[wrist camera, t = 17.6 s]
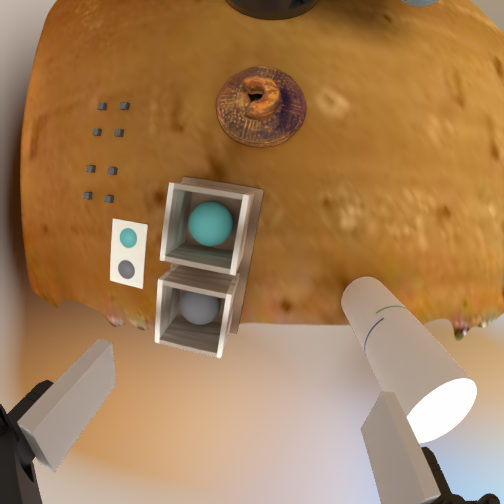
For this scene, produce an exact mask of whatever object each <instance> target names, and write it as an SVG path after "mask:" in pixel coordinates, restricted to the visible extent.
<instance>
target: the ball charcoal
mask: <svg viewBox="0 0 504 504" xmlns="http://www.w3.org/2000/svg"><path fill="white" fill-rule="evenodd" d="M180 310H181V313H182V315H183V316H184V317H185V319H187V320H188V321H189V322H191V323H193V324H197V325H204V324H207V323H210V322H211V321H213V320H214V319H215V318H216V317H217V315H218V313H219V311H220V299H219V297H214V296H210V295H205V294H200V293H196V292H191V291H187V290H185V291H184V292H183V294H182V296H181V298H180Z"/></svg>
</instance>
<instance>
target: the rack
mask: <svg viewBox="0 0 504 504" xmlns="http://www.w3.org/2000/svg"><path fill="white" fill-rule="evenodd" d="M263 192H264V190H263V189H258V188H252V187H246V186H241V185H235V184H229V183H223V182H216V181H210V180H203V179H197V178H190V177H182V181H181V183H169V187H168V194H167V201H166V208H165V216H164V224H163V233H162V242H161V252H160V260H161V261H166V262H171V267H170V269H169V270H168V271H167V272H166V273H165V274H163V275H162V276H161V277H160V278H159V279H158V288H157V304H156V325H155V342H156V343H160V344H164V345H167V346H171V347H176V348H179V349H183V350H187V351H191V352H195V353H200V354H204V355H208V356H213V357H218V358H221V357H222V354H223V351H224V347H225V344H226V341H227V337H228V334H229V332H230V333H235V334H237V332H238V327H239V322H240V316H241V311H242V305H243V300H244V295H245V289H246V284H247V278H248V273H249V268H250V262H251V257H252V251H253V246H254V241H255V235H256V230H257V224H258V219H259V213H260V208H261V203H262V197H263ZM210 201H212V202H218V203H220V204H222V205H224V206H225V207H226V208H227V209H228V210H229V212H230V213H231V216H232V219H233V228H232V231H231V234H230V235H229V237H228V238H227V239H226V240H225V241H224V242H222V243H221V244H219V245H215V246H206V245H203V244H200V243H199V242H197V241H196V240H195V239H194V238H193V237H192V235H191V233H190V230H189V217H190V215H191V213H192V211H193V210H194V209H195V208H196V207H197V206H198V205H200V204H202V203H204V202H210ZM185 290H187V291H191V292H196V293H200V294H205V295H210V296H214V297H219V299H220V311H219V313H218V315H217V317H216V318H215V319H214V320H213V321H211V322H210V323H207V324H204V325H197V324H193V323H191V322H189V321H188V320H187V319H185V317H184V316H183V315H182V313H181V310H180V298H181V296H182V294H183V292H184V291H185Z"/></svg>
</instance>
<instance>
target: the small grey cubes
mask: <svg viewBox="0 0 504 504" xmlns="http://www.w3.org/2000/svg"><path fill="white" fill-rule="evenodd" d="M106 107H107V104H106V103H99V105H98V109H99V110H106ZM128 108H129V103H127V102H121V104H120V109H122V110H128ZM101 131H102V130H101V129H93V133H92V135H94V136H101ZM123 132H124V130H122V129H115V133H114V136H119V137H123ZM95 167H96V166H87V171H86V172H95ZM108 174H112V175H116V174H117V168H111V167H109V169H108ZM84 199H87V200H89V199H92V193H90V192H84ZM113 199H114V196H112V195H105V202H107V203H112V202H113Z"/></svg>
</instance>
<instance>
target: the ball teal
mask: <svg viewBox="0 0 504 504" xmlns="http://www.w3.org/2000/svg"><path fill="white" fill-rule="evenodd" d="M232 228H233V219H232V216H231V213H230V212H229V210H228V209H227V208H226V207H225V206H224V205H222V204H220V203H218V202H212V201H210V202H204V203H202V204H200V205H198V206H197V207H196V208H195V209H194V210H193V211H192V213H191V215H190V217H189V230H190V233H191V235H192V237H193V238H194V239H195V240H196V241H197V242H199V243H200V244H203V245H206V246H215V245H219V244H221V243H222V242H224V241H225V240H226V239H227V238H228V237H229V235H230V234H231V231H232Z"/></svg>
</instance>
